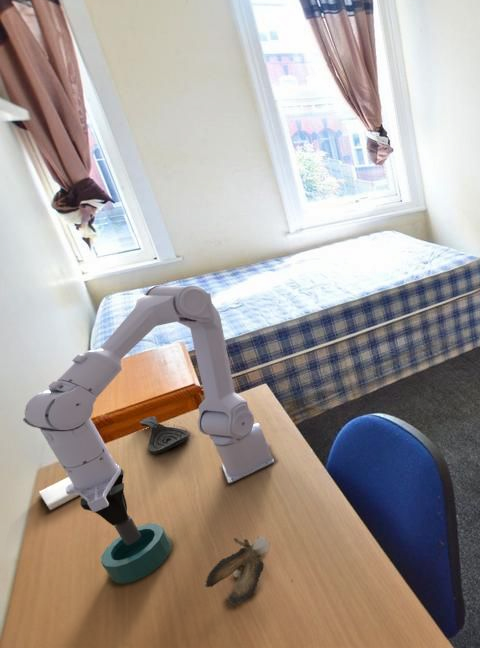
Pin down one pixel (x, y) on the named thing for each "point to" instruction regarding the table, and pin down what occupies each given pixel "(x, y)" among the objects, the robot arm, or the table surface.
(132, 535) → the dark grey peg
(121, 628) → the table surface
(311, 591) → the table surface
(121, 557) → the teal hollow cylinder
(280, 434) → the table surface
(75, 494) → the hard drive
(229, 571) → the eagle figurine
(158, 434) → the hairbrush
